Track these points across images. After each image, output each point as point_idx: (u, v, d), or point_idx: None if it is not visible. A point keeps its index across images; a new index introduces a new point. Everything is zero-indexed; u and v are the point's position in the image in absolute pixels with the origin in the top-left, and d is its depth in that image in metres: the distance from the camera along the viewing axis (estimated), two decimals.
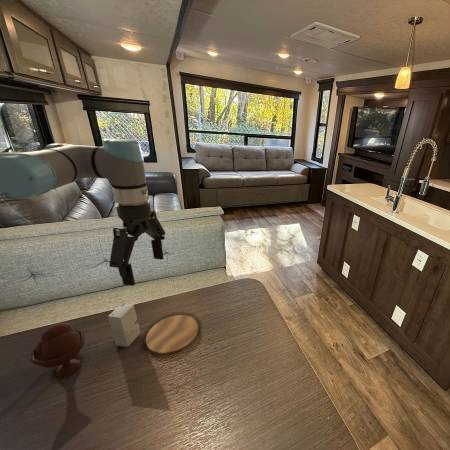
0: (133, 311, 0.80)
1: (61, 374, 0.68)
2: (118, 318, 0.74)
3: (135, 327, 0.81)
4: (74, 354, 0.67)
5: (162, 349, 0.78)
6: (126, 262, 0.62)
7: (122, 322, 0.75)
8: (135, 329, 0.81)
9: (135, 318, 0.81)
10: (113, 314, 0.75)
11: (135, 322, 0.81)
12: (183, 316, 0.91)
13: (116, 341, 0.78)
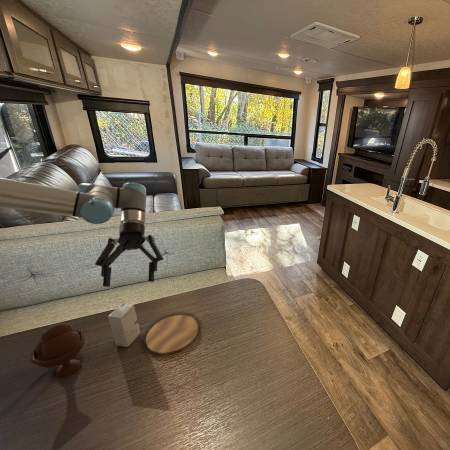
0: (133, 311, 0.80)
1: (61, 374, 0.68)
2: (118, 318, 0.74)
3: (135, 327, 0.81)
4: (74, 354, 0.67)
5: (162, 349, 0.78)
6: None
7: (122, 322, 0.75)
8: (135, 329, 0.81)
9: (135, 318, 0.81)
10: (113, 314, 0.75)
11: (135, 322, 0.81)
12: (183, 316, 0.91)
13: (116, 341, 0.78)
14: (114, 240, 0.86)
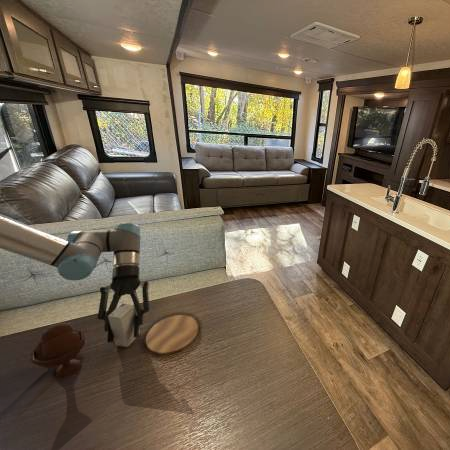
0: (133, 311, 0.80)
1: (61, 374, 0.68)
2: (118, 318, 0.74)
3: None
4: (74, 354, 0.67)
5: (162, 349, 0.78)
6: None
7: (122, 322, 0.75)
8: None
9: None
10: (113, 314, 0.75)
11: None
12: (183, 316, 0.91)
13: (116, 341, 0.78)
14: (106, 288, 0.80)
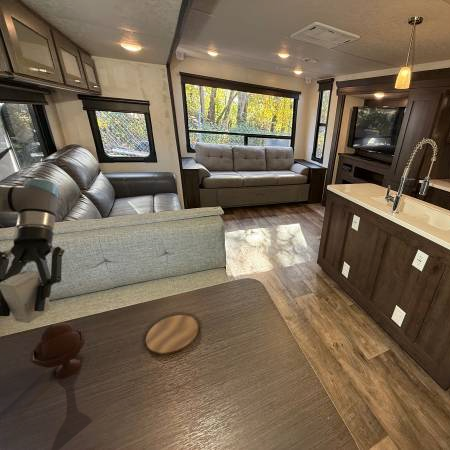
0: (37, 281, 0.66)
1: (61, 374, 0.68)
2: (10, 286, 0.61)
3: None
4: (74, 354, 0.67)
5: (162, 349, 0.78)
6: None
7: (17, 291, 0.62)
8: None
9: None
10: (5, 282, 0.61)
11: None
12: (183, 316, 0.91)
13: (14, 316, 0.65)
14: (5, 253, 0.67)
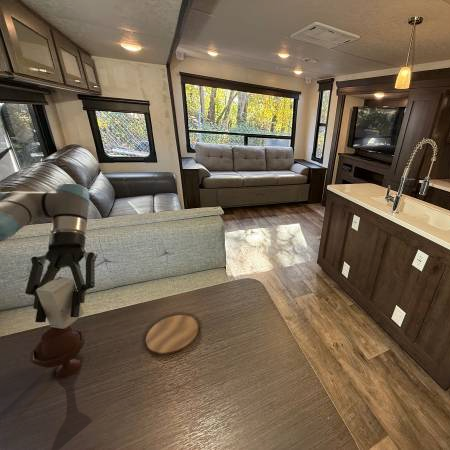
0: (72, 286, 0.66)
1: (61, 374, 0.68)
2: (48, 292, 0.61)
3: None
4: (74, 354, 0.67)
5: (162, 349, 0.78)
6: None
7: (55, 297, 0.62)
8: None
9: None
10: (43, 288, 0.61)
11: None
12: (183, 316, 0.91)
13: (50, 322, 0.64)
14: (40, 258, 0.66)
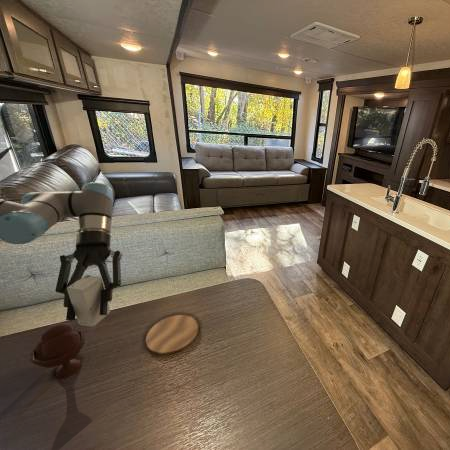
0: (100, 285, 0.66)
1: (61, 374, 0.68)
2: (79, 290, 0.61)
3: None
4: (74, 354, 0.67)
5: (162, 349, 0.78)
6: None
7: (85, 296, 0.62)
8: None
9: None
10: (73, 286, 0.62)
11: None
12: (183, 316, 0.91)
13: (79, 319, 0.65)
14: (68, 257, 0.67)
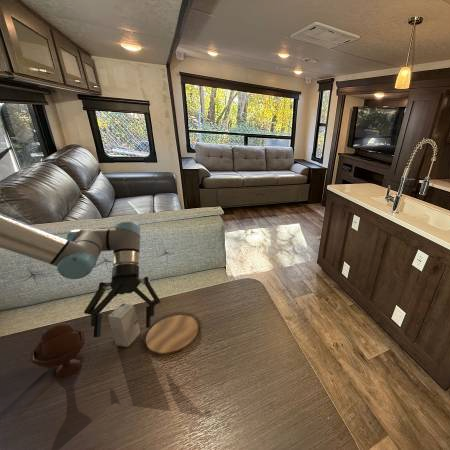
0: (133, 311, 0.80)
1: (61, 374, 0.68)
2: (118, 318, 0.74)
3: (135, 327, 0.81)
4: (74, 354, 0.67)
5: (162, 349, 0.78)
6: None
7: (122, 322, 0.75)
8: (135, 329, 0.81)
9: (136, 318, 0.81)
10: (113, 314, 0.75)
11: (136, 322, 0.81)
12: (183, 316, 0.91)
13: (116, 341, 0.78)
14: (105, 284, 0.80)
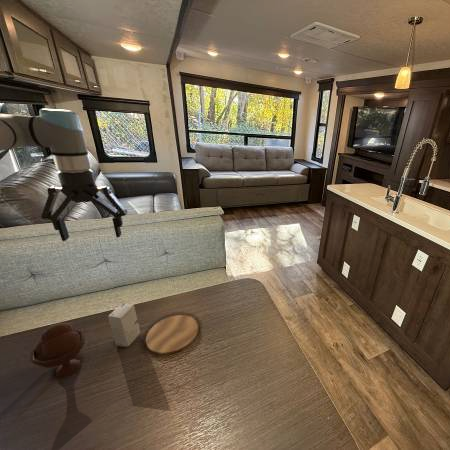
0: (133, 311, 0.80)
1: (61, 374, 0.68)
2: (118, 318, 0.74)
3: (135, 327, 0.81)
4: (74, 354, 0.67)
5: (162, 349, 0.78)
6: None
7: (122, 322, 0.75)
8: (135, 329, 0.81)
9: (136, 318, 0.81)
10: (113, 314, 0.75)
11: (136, 322, 0.81)
12: (183, 316, 0.91)
13: (116, 341, 0.78)
14: (56, 190, 0.69)
